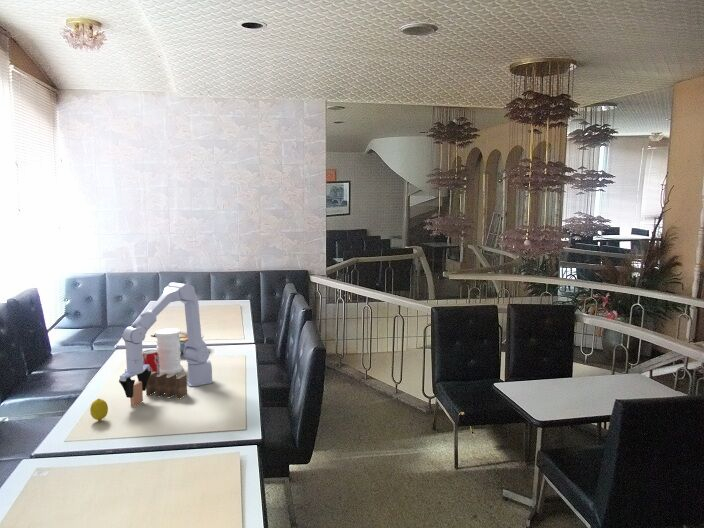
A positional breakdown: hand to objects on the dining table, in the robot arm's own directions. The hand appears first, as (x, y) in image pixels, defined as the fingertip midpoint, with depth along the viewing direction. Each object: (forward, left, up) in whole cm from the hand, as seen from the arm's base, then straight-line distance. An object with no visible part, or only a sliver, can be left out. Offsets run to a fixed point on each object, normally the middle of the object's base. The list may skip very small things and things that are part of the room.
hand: (136, 393), depth 204 cm
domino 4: (-17, 0, -4) cm, 17 cm away
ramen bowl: (-30, -65, -4) cm, 71 cm away
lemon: (+13, +10, -4) cm, 18 cm away
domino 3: (-13, -3, -4) cm, 14 cm away
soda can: (-10, -28, -4) cm, 29 cm away
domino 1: (-7, -9, -4) cm, 12 cm away
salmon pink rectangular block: (0, 0, -4) cm, 4 cm away
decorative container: (-19, -36, -4) cm, 40 cm away
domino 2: (-10, -6, -4) cm, 12 cm away
